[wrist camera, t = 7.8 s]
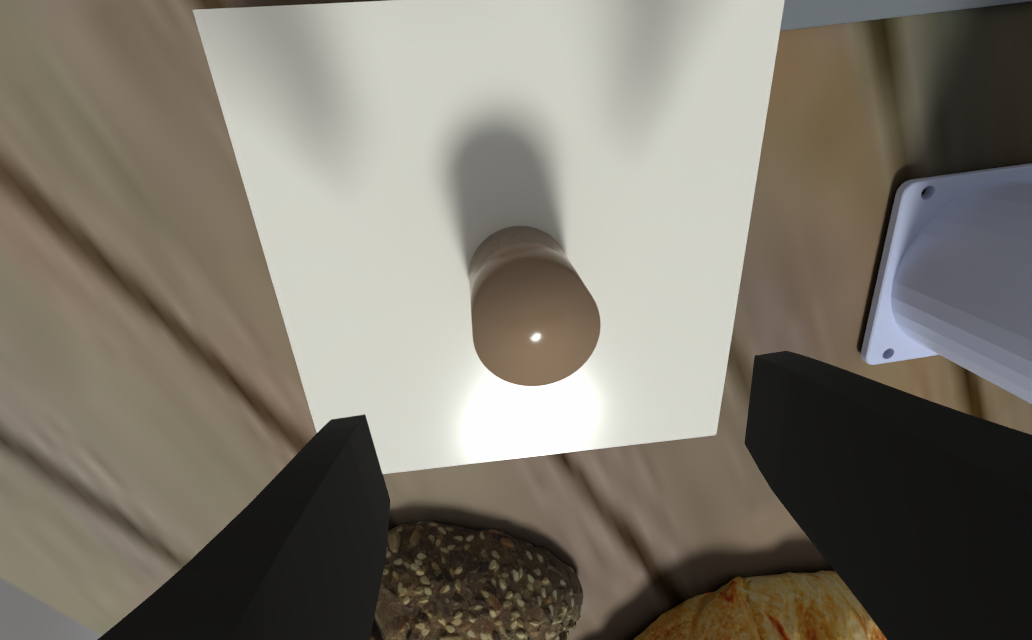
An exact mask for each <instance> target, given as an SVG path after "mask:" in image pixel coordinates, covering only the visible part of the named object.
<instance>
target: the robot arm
mask: <svg viewBox="0 0 1032 640" xmlns="http://www.w3.org/2000/svg"><path fill="white" fill-rule="evenodd" d="M925 188H926V190H925V192H924V194H923V195H922V196H921V193H922V191H923V190H924V189H925ZM884 351H885V352H884ZM933 355H941V356H943V357H945V358H947V359H949V360H951V361H952V362H954V363H956V364H958V365H960V366H962V367H964V368H965V369H967V370H969V371H971V372H973V373H975V374H977V375H978V376H980V377H982V378H984V379H986V380H988V381H990V382H992V383H993V384H995V385H997V386H999V387H1001V388H1003V389H1005V390H1006V391H1008V392H1010V393H1012V394H1014V395H1016V396H1018V397H1020V398H1021V399H1023V400H1025V401H1027V402H1029V403H1031V404H1032V163H1029V164H1022V165H1014V166H1007V167H1000V168H992V169H985V170H978V171H970V172H963V173H955V174H948V175H941V176H933V177H926V178H918V179H911V180H908V181H905V182H904V183H903V184H901V186H900V187H899V188H898V189H897V192H896V195H895V199H894V204H893V208H892V213H891V217H890V222H889V227H888V231H887V236H886V240H885V245H884V249H883V254H882V259H881V263H880V268H879V272H878V277H877V281H876V286H875V291H874V295H873V300H872V304H871V309H870V313H869V318H868V323H867V327H866V332H865V336H864V341H863V345H862V350H861V358H862V360H864V361H865V362H867V363H868V364H870V365H876V364H882V363H888V362H895V361H901V360H908V359H914V358H921V357H927V356H933ZM745 445H746V447H747V449H748V450H749V452H750V454H751V456H752V457H753V459H754V461H755V463H756V464H757V466H758V468H759V470H760V471H761V473H762V475H763V476H764V478H765V479H766V481H767V483H768V484H769V486H770V488H771V489H772V491H773V492H774V493H775V495H776V496H777V497H778V499H779V500H780V501H781V503H782V504H783V505H784V507H785V508H786V509H787V511H788V512H789V513H790V514H791V516H792V517H793V518H794V520H795V521H796V522H797V523H798V525H799V526H800V527H801V529H802V530H803V531H804V532H805V534H806V535H807V536H808V537H809V539H810V540H811V541H812V543H813V544H814V545H815V546H816V548H817V549H818V550H819V551H820V553H821V554H822V555H823V556H824V558H825V559H826V560H827V562H828V563H829V564H830V565H831V567H832V568H833V569H834V570H835V572H836V573H837V574H838V576H839V577H840V578H841V579H842V581H843V582H844V583H845V584H846V586H847V587H848V588H849V589H850V591H851V592H852V593H853V595H854V596H855V597H856V598H857V600H858V601H859V602H860V603H861V605H862V606H863V607H864V609H865V610H866V611H867V613H868V614H869V616H870V617H871V618H872V620H873V621H874V622H875V624H876V625H877V626H878V628H879V629H880V631H881V632H882V633H883V635H884V636H885V638H886V639H887V640H1032V435H1030V434H1027V433H1024V432H1020V431H1017V430H1014V429H1011V428H1008V427H1005V426H1002V425H999V424H996V423H993V422H990V421H987V420H984V419H981V418H978V417H975V416H972V415H969V414H965V413H963V412H960V411H957V410H954V409H951V408H948V407H945V406H942V405H940V404H937V403H934V402H931V401H928V400H926V399H923V398H920V397H917V396H914V395H912V394H909V393H906V392H903V391H901V390H898V389H895V388H893V387H890V386H887V385H884V384H882V383H879V382H876V381H874V380H871V379H868V378H865V377H863V376H860V375H857V374H855V373H852V372H849V371H847V370H844V369H841V368H838V367H836V366H833V365H830V364H827V363H824V362H821V361H818V360H815V359H812V358H809V357H806V356H803V355H800V354H796V353H792V352H789V351H783V352H776V353H769V354H763V355H756V356H755V358H754V367H753V376H752V384H751V393H750V402H749V410H748V419H747V428H746V437H745ZM389 510H390V498H389V495H388V491H387V488H386V484H385V481H384V478H383V474H382V471H381V467H380V464H379V460H378V457H377V453H376V450H375V446H374V443H373V440H372V436H371V433H370V429H369V426H368V422H367V419H366V415H365V414H364V415H358V416H351V417H344V418H338V419H331V420H330V421H329V422H328V423H327V424H326V425H325V426H324V427H323V428H322V429H321V430H320V431H319V432H318V433H317V434H316V435H315V436H314V437H313V438H312V439H311V440H310V441H309V442H308V443H307V444H306V445H305V446H304V447H303V448H302V450H301V451H300V452H299V453H298V454H297V455H296V456H295V457H294V458H293V459H292V460H291V461H290V462H289V463H288V464H287V465H286V467H285V468H284V469H283V470H282V471H281V472H280V473H279V474H278V475H277V476H276V477H275V478H274V479H273V480H272V481H271V482H270V483H269V484H268V485H267V486H266V487H265V488H264V489H263V490H262V491H261V492H260V494H259V495H258V496H257V497H256V498H255V499H254V500H253V501H252V502H251V503H250V504H249V505H248V506H247V507H246V508H245V509H244V510H243V511H242V512H241V513H240V514H239V515H237V516H236V517H235V518H234V519H233V520H232V521H231V522H230V523H229V524H228V525H227V526H226V527H225V528H224V529H223V530H222V531H221V532H220V533H219V534H218V535H217V536H216V537H215V538H213V539H212V540H211V541H210V542H209V543H208V544H207V545H206V546H205V547H204V548H203V549H202V550H201V551H200V552H199V553H198V554H197V555H196V556H195V557H194V558H193V559H192V560H190V561H189V562H188V563H187V564H186V565H185V566H184V567H183V568H182V569H181V570H179V571H178V572H177V573H176V574H175V575H174V576H173V577H172V578H170V579H169V580H168V581H167V582H166V583H165V584H164V585H162V586H161V587H160V588H159V589H158V590H157V591H156V592H154V593H153V594H152V595H151V596H150V597H148V598H147V599H146V600H145V601H144V602H143V603H141V604H140V605H139V606H138V607H137V608H135V609H134V610H133V611H132V612H131V613H129V614H128V615H127V616H126V617H125V618H123V619H122V620H121V621H120V622H119V623H117V624H116V625H115V626H114V627H113V628H111V629H110V630H109V631H108V632H106V633H105V634H104V635H103V636H102V637H100V638H99V639H98V640H370V636H371V631H372V626H373V621H374V616H375V611H376V606H377V601H378V596H379V591H380V585H381V580H382V575H383V570H384V564H385V559H386V551H387V539H388V526H389Z"/></svg>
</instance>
